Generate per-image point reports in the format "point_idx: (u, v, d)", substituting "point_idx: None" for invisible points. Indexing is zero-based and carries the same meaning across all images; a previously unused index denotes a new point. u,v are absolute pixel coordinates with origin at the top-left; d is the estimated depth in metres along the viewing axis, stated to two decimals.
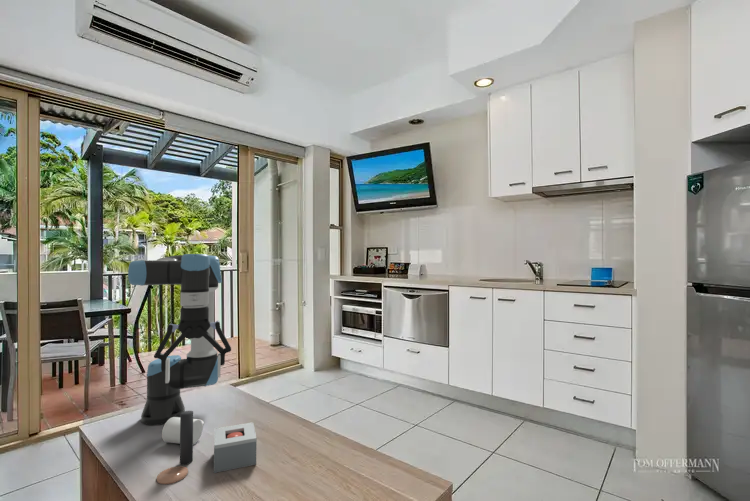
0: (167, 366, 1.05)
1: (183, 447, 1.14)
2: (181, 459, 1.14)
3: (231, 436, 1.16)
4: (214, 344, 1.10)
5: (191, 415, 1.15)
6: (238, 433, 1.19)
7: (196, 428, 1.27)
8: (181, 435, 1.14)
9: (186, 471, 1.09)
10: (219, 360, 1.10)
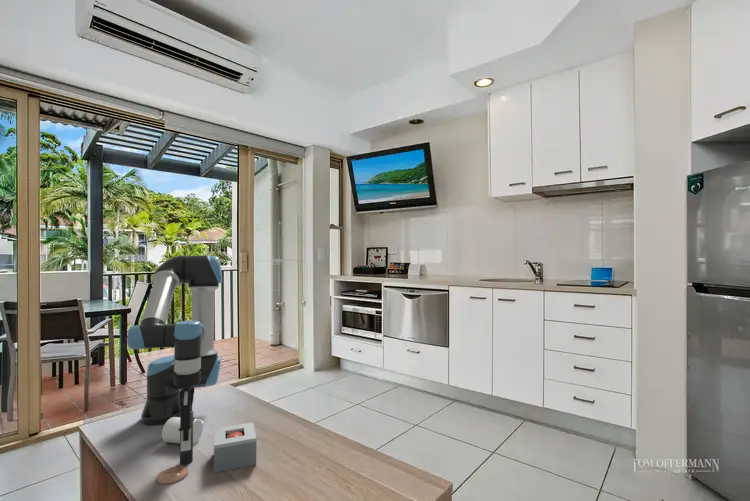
0: None
1: None
2: (181, 459, 1.14)
3: (231, 436, 1.16)
4: None
5: (191, 415, 1.15)
6: (238, 433, 1.19)
7: (196, 428, 1.27)
8: None
9: (186, 471, 1.09)
10: (181, 434, 1.13)
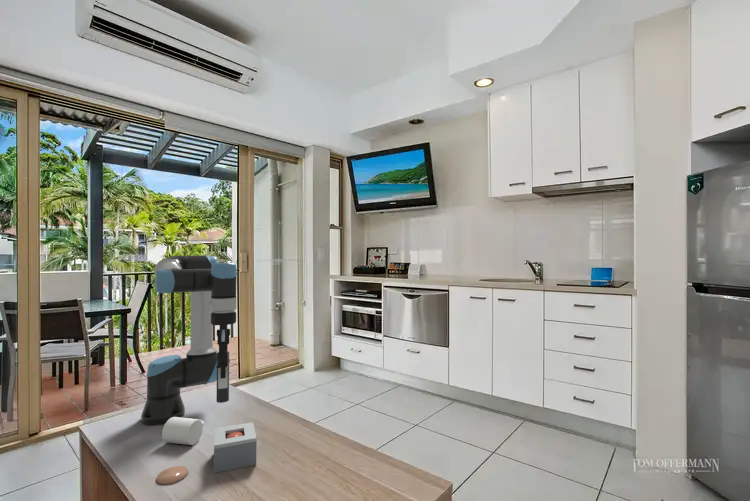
0: None
1: None
2: (218, 397, 1.15)
3: (231, 436, 1.16)
4: None
5: (227, 354, 1.16)
6: (238, 433, 1.19)
7: (196, 428, 1.27)
8: None
9: (186, 471, 1.09)
10: (218, 372, 1.14)
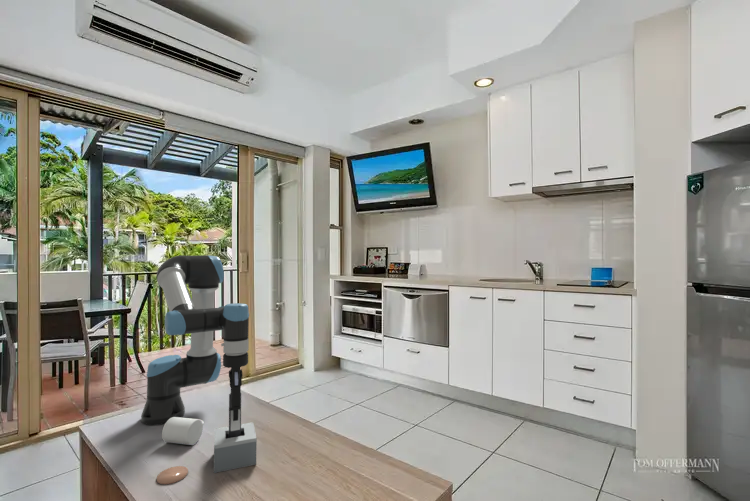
0: None
1: None
2: None
3: None
4: None
5: (240, 396, 1.17)
6: None
7: (196, 428, 1.27)
8: (230, 415, 1.16)
9: (186, 471, 1.09)
10: None
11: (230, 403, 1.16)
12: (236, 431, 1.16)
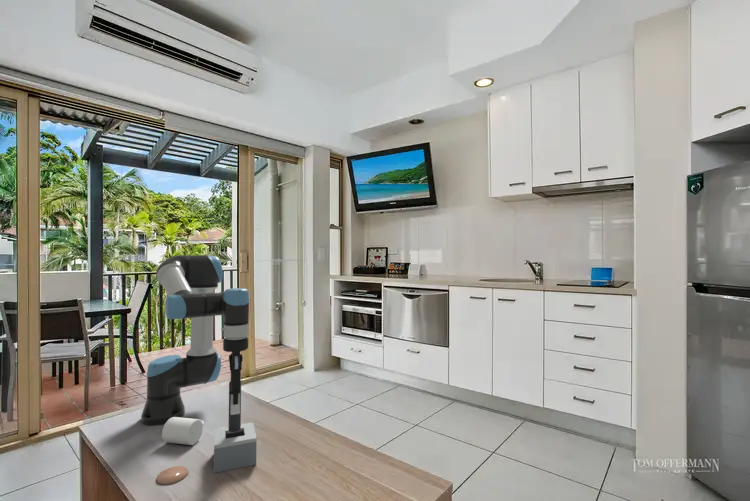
0: None
1: (233, 415, 1.16)
2: (230, 426, 1.16)
3: None
4: None
5: None
6: None
7: (196, 428, 1.27)
8: (230, 403, 1.16)
9: (186, 471, 1.09)
10: None
11: (230, 391, 1.16)
12: (236, 418, 1.16)
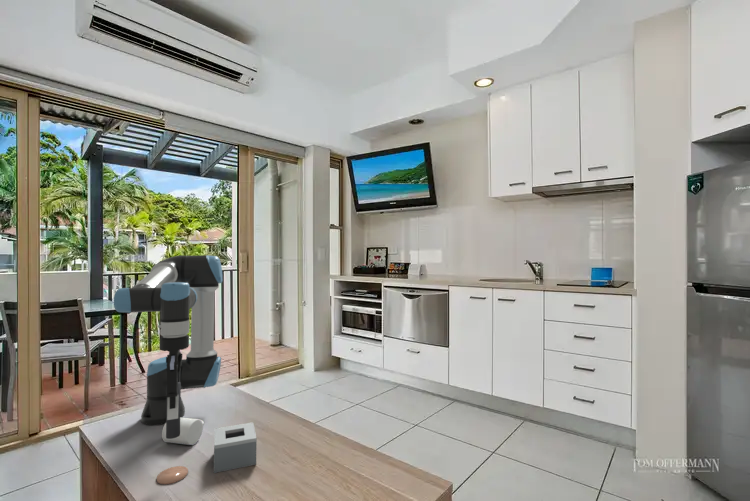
0: None
1: (170, 420, 1.06)
2: (167, 432, 1.06)
3: None
4: None
5: (178, 386, 1.08)
6: None
7: (196, 428, 1.27)
8: None
9: (186, 471, 1.09)
10: None
11: None
12: (174, 424, 1.06)
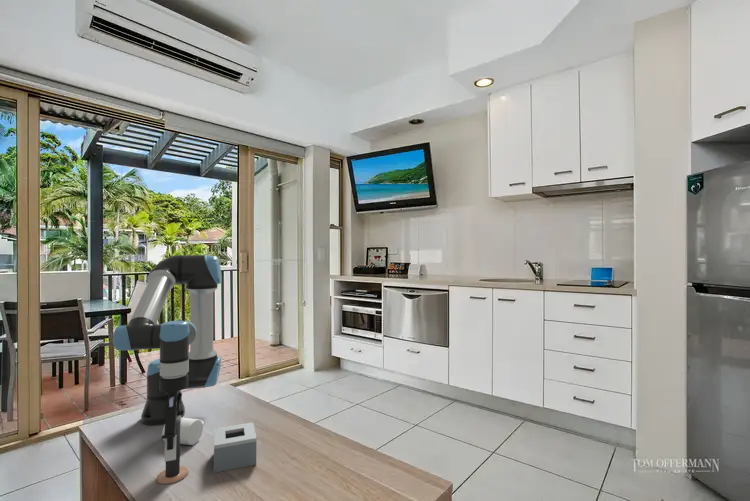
0: None
1: None
2: (167, 471, 1.06)
3: None
4: None
5: (178, 424, 1.07)
6: None
7: (196, 428, 1.27)
8: None
9: (186, 471, 1.09)
10: (165, 442, 1.01)
11: None
12: (173, 463, 1.06)
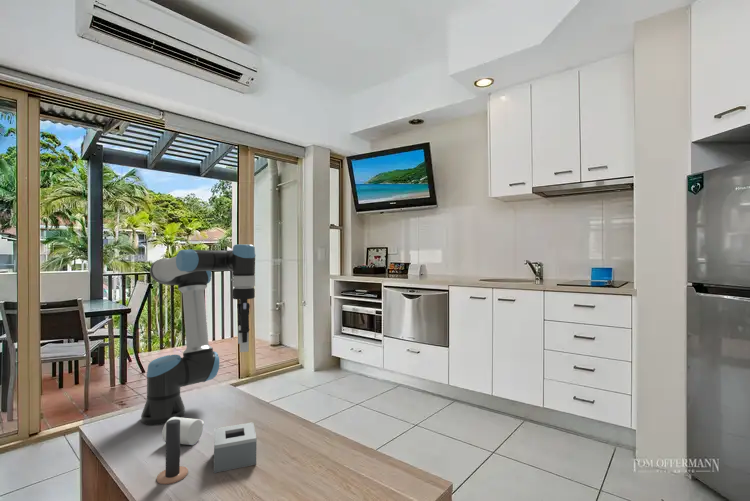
0: (238, 330, 1.38)
1: (169, 459, 1.06)
2: (167, 471, 1.06)
3: None
4: None
5: (178, 424, 1.07)
6: None
7: (196, 428, 1.27)
8: (167, 446, 1.06)
9: (186, 471, 1.09)
10: (240, 337, 1.25)
11: (167, 432, 1.06)
12: (173, 463, 1.06)
